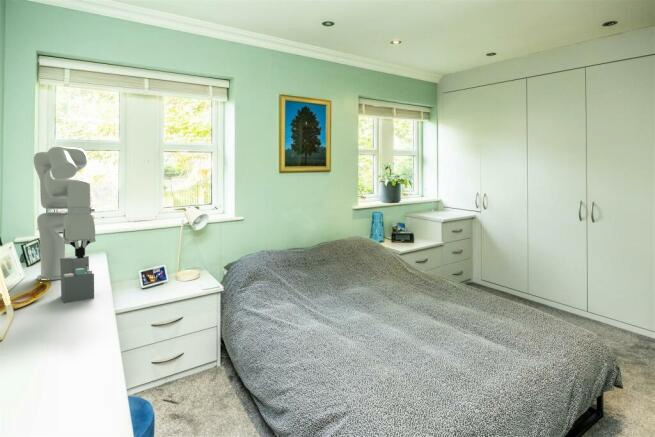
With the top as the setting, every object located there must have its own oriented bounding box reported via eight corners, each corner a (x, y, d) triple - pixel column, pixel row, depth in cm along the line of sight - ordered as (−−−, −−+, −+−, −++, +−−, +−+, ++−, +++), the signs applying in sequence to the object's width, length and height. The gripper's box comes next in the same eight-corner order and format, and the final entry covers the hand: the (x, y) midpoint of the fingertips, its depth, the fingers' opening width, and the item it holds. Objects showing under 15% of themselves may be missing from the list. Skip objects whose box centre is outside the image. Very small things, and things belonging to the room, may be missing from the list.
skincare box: (73, 297, 149) (73, 258, 148) (59, 295, 151) (58, 257, 149) (91, 291, 157) (90, 255, 156) (77, 290, 159) (76, 254, 158)
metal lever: (86, 273, 150) (85, 264, 150) (88, 272, 150) (88, 264, 150) (86, 273, 149) (86, 264, 149) (89, 272, 150) (88, 264, 150)
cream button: (63, 282, 144) (63, 274, 144) (71, 281, 146) (71, 273, 146) (65, 283, 142) (65, 275, 142) (73, 282, 144) (73, 274, 144)
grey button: (86, 273, 148) (86, 270, 148) (90, 273, 149) (90, 269, 149) (87, 274, 147) (87, 270, 147) (91, 273, 148) (91, 270, 148)
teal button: (75, 276, 147) (75, 268, 146) (82, 275, 148) (82, 268, 148) (77, 278, 145) (77, 270, 145) (84, 277, 147) (84, 269, 147)
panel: (61, 300, 145) (61, 275, 144) (90, 295, 152) (90, 271, 151) (64, 303, 142) (64, 277, 141) (94, 298, 149) (94, 273, 148)
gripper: (97, 210, 153) (98, 254, 154) (53, 211, 141) (54, 258, 143) (103, 211, 148) (104, 257, 149) (58, 212, 136) (59, 261, 138)
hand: (80, 257), depth 146 cm, fingers closed
